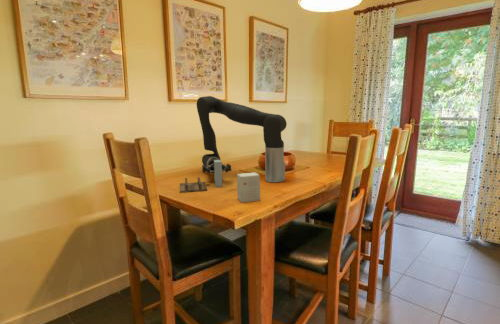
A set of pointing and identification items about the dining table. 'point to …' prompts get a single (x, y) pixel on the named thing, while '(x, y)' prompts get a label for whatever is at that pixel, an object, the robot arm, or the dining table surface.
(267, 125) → the robot arm
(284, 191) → the dining table surface
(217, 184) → the grey rectangular block
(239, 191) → the small box
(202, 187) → the rack
